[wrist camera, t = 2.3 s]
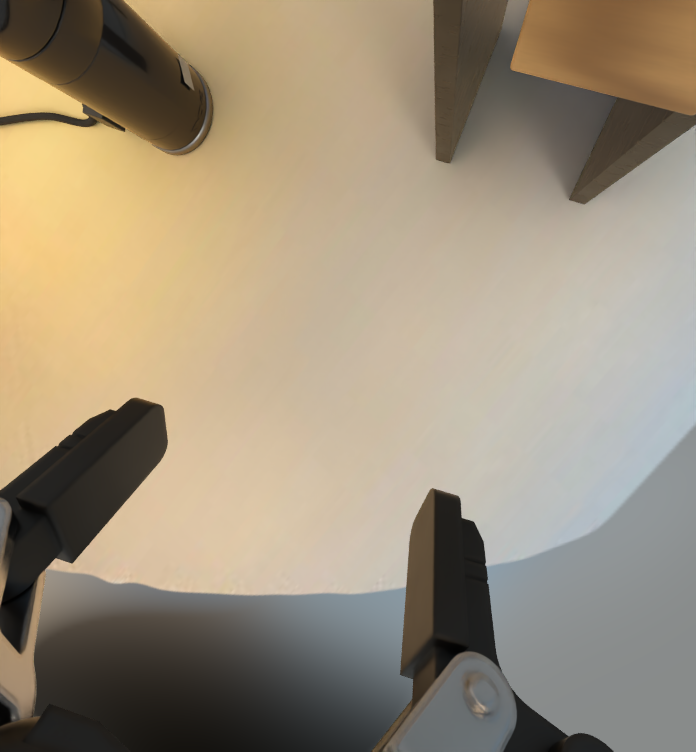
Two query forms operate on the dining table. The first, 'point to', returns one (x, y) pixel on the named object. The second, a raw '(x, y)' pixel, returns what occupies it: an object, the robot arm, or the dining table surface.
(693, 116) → the shelf stand
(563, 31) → the long wooden beam
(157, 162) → the dining table surface
